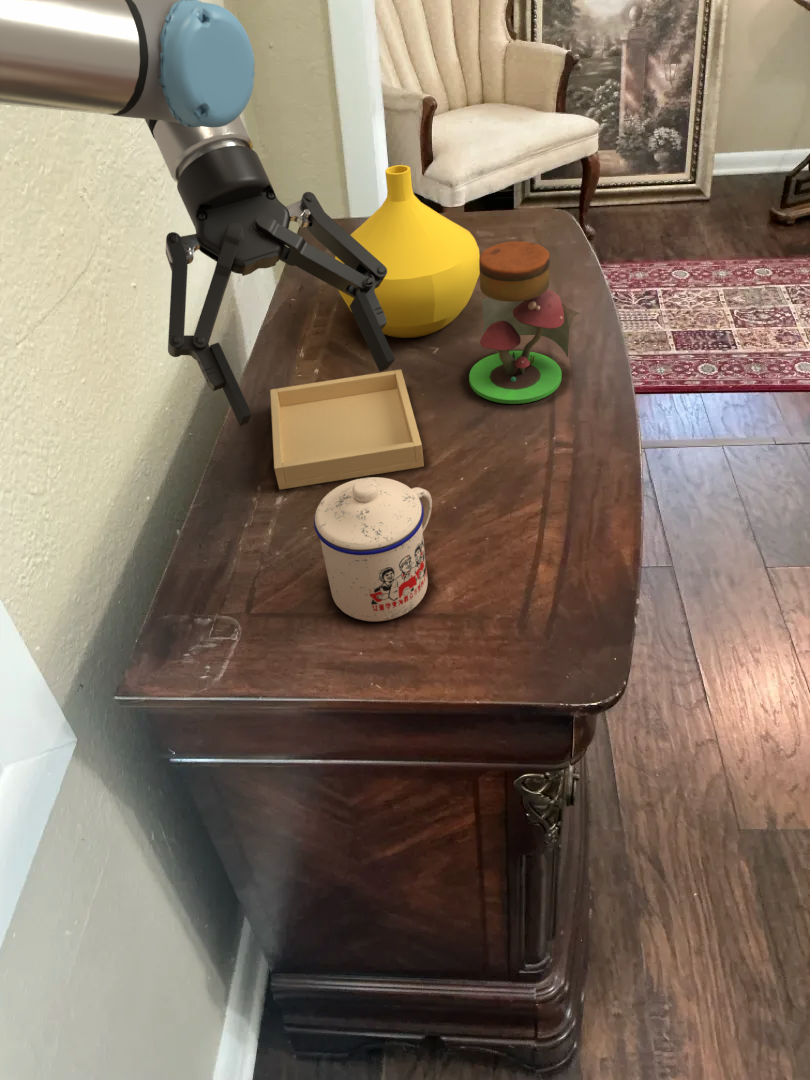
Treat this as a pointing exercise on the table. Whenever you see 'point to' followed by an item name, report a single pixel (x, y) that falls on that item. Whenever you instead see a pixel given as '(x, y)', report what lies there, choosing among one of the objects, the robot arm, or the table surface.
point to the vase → (417, 261)
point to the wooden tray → (343, 429)
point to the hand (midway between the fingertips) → (318, 392)
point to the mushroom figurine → (518, 324)
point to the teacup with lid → (374, 546)
